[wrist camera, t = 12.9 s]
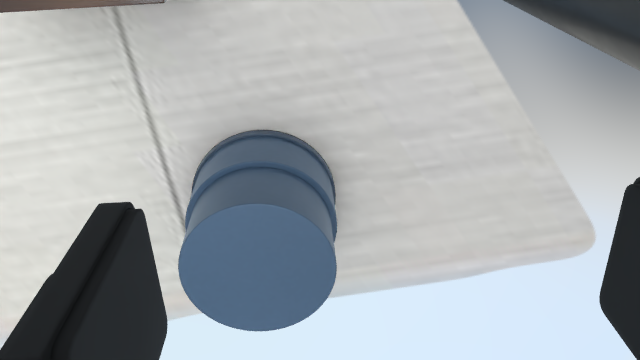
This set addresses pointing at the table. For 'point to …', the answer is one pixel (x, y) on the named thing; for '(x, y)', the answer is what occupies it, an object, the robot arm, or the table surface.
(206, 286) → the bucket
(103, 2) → the brown cube block
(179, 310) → the table surface
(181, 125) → the table surface
